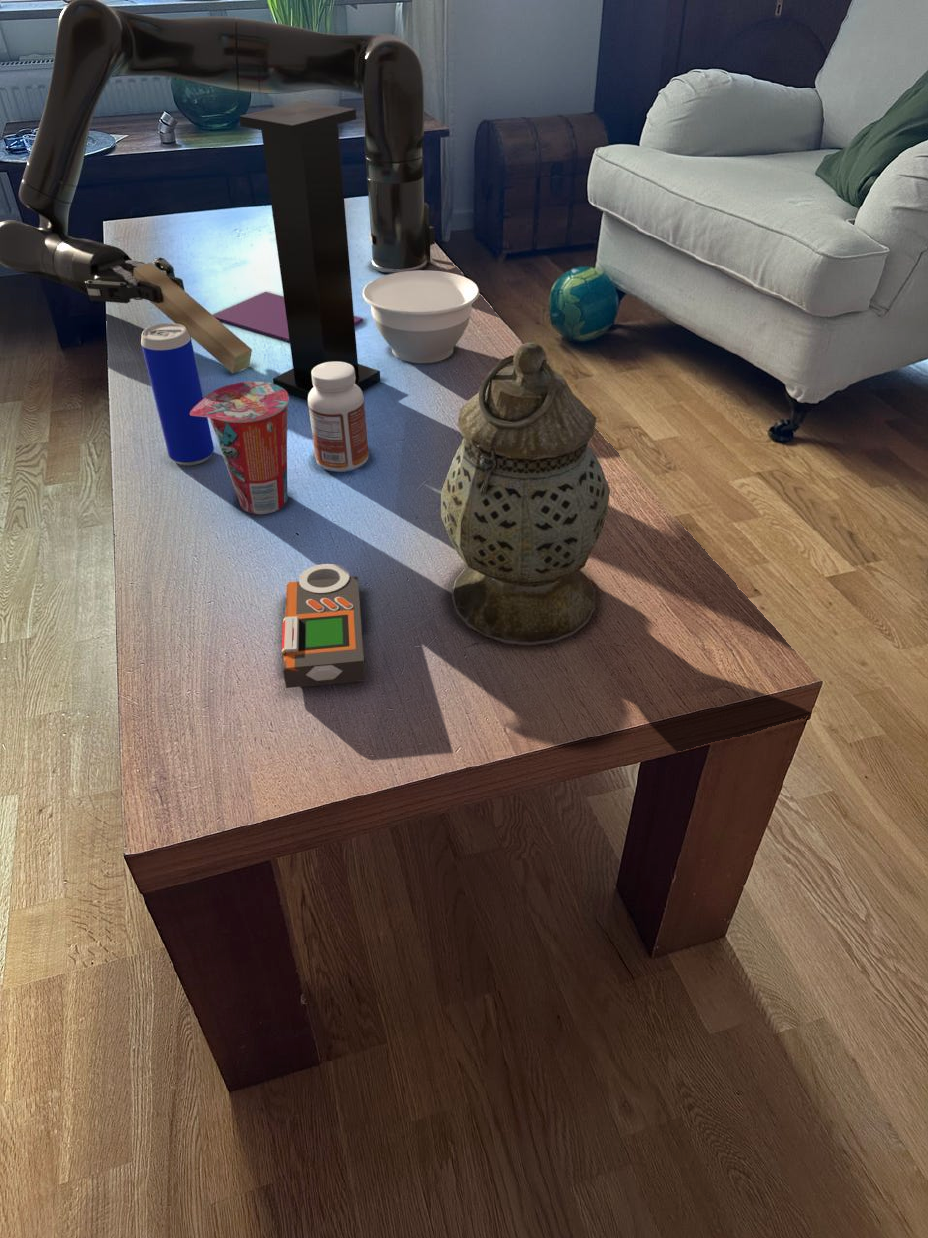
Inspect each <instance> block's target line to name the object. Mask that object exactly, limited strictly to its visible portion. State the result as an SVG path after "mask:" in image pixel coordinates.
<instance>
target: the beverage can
mask: <svg viewBox="0 0 928 1238" xmlns="http://www.w3.org/2000/svg"><path fill="white" fill-rule="evenodd" d="M140 338H141V340H140V345H141V349H142V355H143V358H144V362H145V367H146V371H147V374H148V377H149V381H150V382H149V383H150V386H151V390H152V394H153V398H154V402H155V406H156V410H157V414H158V418H159V423H160V426H161V430H162V434H163V435H162V436H163V438H164V442H165V447H166V450H167V451H166V452H167V454H168V457H169V458H170V459H171V460H172V461H173V462H174V463H175V464H177V465H180V466H196V465H200V464H203V463H205V462H207V461H208V460H209V459H210V458H211V457H212V454H213V453H214V451H215V447H214V442H213V438H212V437H213V436H212V433H211V428H210V423H209V418H207V417H199V416H191V415H190V411H191V410H192V408H193V407H195V406H196V405H197V404H198V403H199V402H200V401H201V400H202V399H204V394H203V390H202V385H201V381H200V375H199V371H198V365H197V359H196V355H195V351H194V347H193V341H192V338H191V337H190V335H189V333H188V331H187V329H186V328H185V327H184V326H183V325H180V324H176V323H174V322H163V323H158V324H154V325H151V326H148V327H146V328H145V329H144V330H143V331H142V332H141V337H140Z"/></svg>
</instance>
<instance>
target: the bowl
mask: <svg viewBox="0 0 928 1238" xmlns="http://www.w3.org/2000/svg"><path fill="white" fill-rule="evenodd" d="M479 296H480V289H479V287H478V285H477V284H476V282H474V281H473V280H472V279H469V278H467V277H466V276H463V275H460V274H456V273H453V272H448V271H440V270H428V269H427V270H425V269H424V270H423V269H421V270H416V271H404V272H398V273H393V274H391V273H388V274H385V275H381V276H379V277H377V278H375V279H373V280H371V281H370V282H368V283H366V285H365V286H364V288H363V290H362V297H363V300H364V301H365V302H366V303H367V304H368V305H370V308H371V315H372V318H373V321H374V323H375V327H376V329H377V330H378V332H379V334H380V335H381V338H383V339H384V341H385V342H386V343H387V345H388V346H389V347H390V348H391V351H392V354H393V356H394V357H395V358H397V359H398V360H401V361H404V362H407V363H412V364H432V363H437V362H441V361H444V360H445V359H447V358H449V357H451V356H452V355H453V353H454V348H455V346H456V345H457V344H458V342H459V341H460V340H461V339H462V337H463V335H464V333H465V331H466V329H467V327H468V325H469V322H470V318H471V315H472V305H473V303H475V301H476V300H478V298H479Z"/></svg>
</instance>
